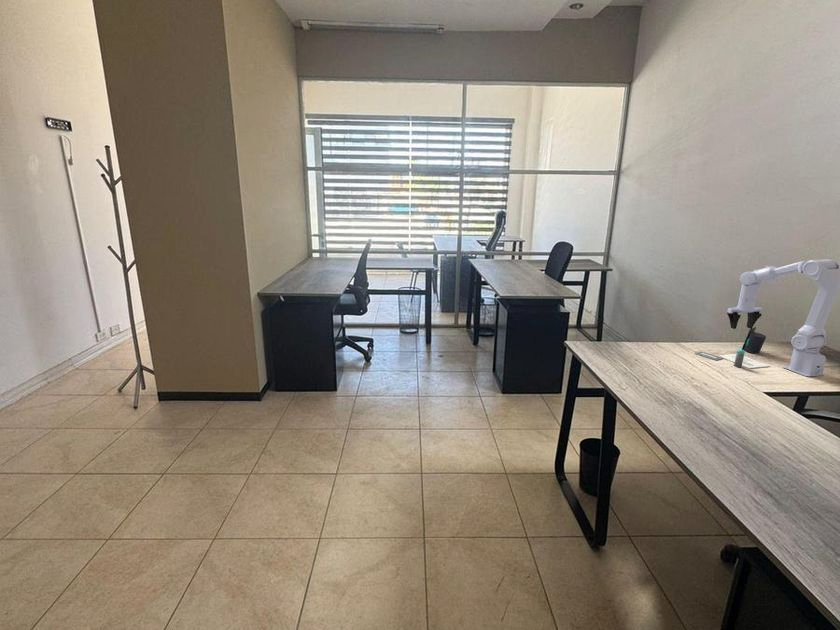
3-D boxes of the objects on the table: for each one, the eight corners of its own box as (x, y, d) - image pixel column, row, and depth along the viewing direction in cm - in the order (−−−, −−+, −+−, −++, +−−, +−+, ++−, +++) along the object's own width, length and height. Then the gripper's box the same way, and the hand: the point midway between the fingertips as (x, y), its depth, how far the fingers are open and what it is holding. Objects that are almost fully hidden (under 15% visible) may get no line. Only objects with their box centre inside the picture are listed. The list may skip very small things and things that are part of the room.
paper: (769, 366, 170) (769, 365, 169) (748, 368, 168) (748, 367, 168) (737, 354, 183) (737, 353, 183) (718, 356, 181) (718, 355, 181)
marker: (743, 367, 169) (746, 351, 167) (738, 367, 169) (741, 351, 167) (737, 364, 172) (740, 348, 170) (732, 365, 171) (735, 349, 169)
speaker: (736, 348, 190) (744, 327, 186) (746, 347, 191) (754, 326, 188) (751, 355, 183) (760, 333, 179) (762, 355, 184) (770, 333, 181)
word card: (723, 358, 178) (723, 357, 178) (716, 360, 176) (716, 359, 176) (701, 351, 186) (701, 351, 186) (694, 353, 184) (694, 353, 184)
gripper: (755, 296, 187) (749, 325, 191) (724, 296, 187) (719, 325, 190) (769, 299, 181) (762, 329, 184) (737, 300, 180) (731, 330, 183)
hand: (741, 328), depth 187 cm, fingers open, 7 cm apart
